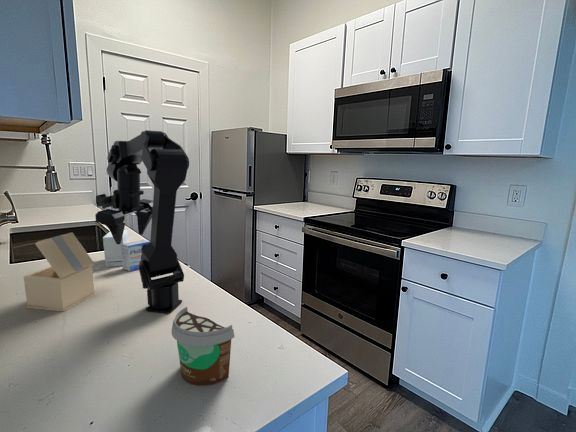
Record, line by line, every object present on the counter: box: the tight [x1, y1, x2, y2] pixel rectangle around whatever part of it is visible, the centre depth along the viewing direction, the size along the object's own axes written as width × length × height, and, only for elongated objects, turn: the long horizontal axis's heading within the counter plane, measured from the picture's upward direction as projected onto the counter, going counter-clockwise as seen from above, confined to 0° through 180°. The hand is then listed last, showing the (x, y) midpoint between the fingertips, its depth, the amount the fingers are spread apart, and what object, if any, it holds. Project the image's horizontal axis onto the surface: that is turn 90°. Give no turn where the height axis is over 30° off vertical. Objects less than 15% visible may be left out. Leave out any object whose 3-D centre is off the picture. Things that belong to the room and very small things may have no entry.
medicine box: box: [121, 239, 150, 272], centre depth 108 cm, size 8×4×9 cm, turn 143°
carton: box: [23, 265, 95, 312], centre depth 82 cm, size 10×10×8 cm
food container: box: [170, 306, 235, 387], centre depth 55 cm, size 12×6×10 cm, turn 56°
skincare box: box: [102, 229, 131, 268], centre depth 113 cm, size 10×6×10 cm, turn 15°
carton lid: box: [34, 231, 95, 279], centre depth 80 cm, size 10×10×1 cm
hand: (130, 239), depth 95 cm, fingers open, 9 cm apart
